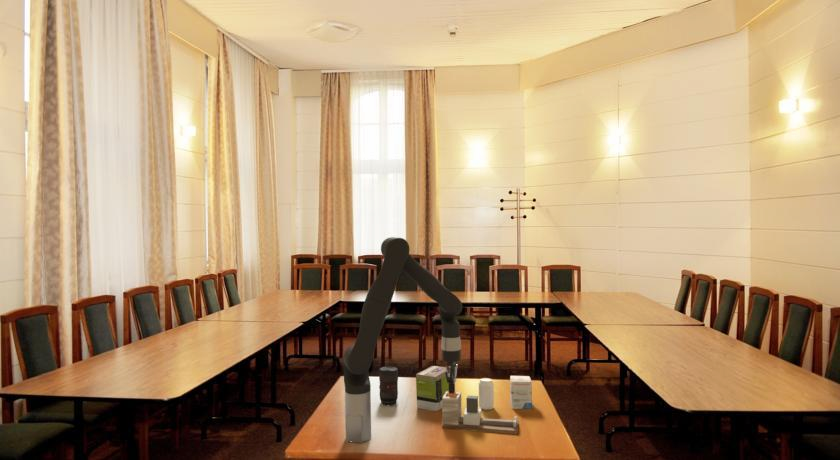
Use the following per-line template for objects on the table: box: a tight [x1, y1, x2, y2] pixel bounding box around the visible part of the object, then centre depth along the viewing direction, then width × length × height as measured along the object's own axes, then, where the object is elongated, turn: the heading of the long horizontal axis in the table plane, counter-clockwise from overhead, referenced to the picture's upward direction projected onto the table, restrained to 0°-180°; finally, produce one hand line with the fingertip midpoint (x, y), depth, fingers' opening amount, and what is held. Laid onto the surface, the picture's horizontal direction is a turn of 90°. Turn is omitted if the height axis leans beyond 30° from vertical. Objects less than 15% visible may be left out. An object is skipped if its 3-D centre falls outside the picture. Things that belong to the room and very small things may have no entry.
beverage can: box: [478, 377, 495, 411], centre depth 218 cm, size 6×6×12 cm
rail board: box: [441, 391, 520, 435], centre depth 199 cm, size 10×28×11 cm, turn 76°
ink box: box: [509, 375, 533, 410], centre depth 221 cm, size 9×8×12 cm
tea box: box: [415, 365, 449, 412], centre depth 223 cm, size 15×10×15 cm, turn 149°
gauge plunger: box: [448, 391, 457, 397], centre depth 201 cm, size 3×3×10 cm
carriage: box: [462, 395, 482, 426], centre depth 199 cm, size 7×6×9 cm
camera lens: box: [378, 366, 399, 406], centre depth 226 cm, size 8×8×15 cm
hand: (451, 392), depth 201 cm, fingers closed
